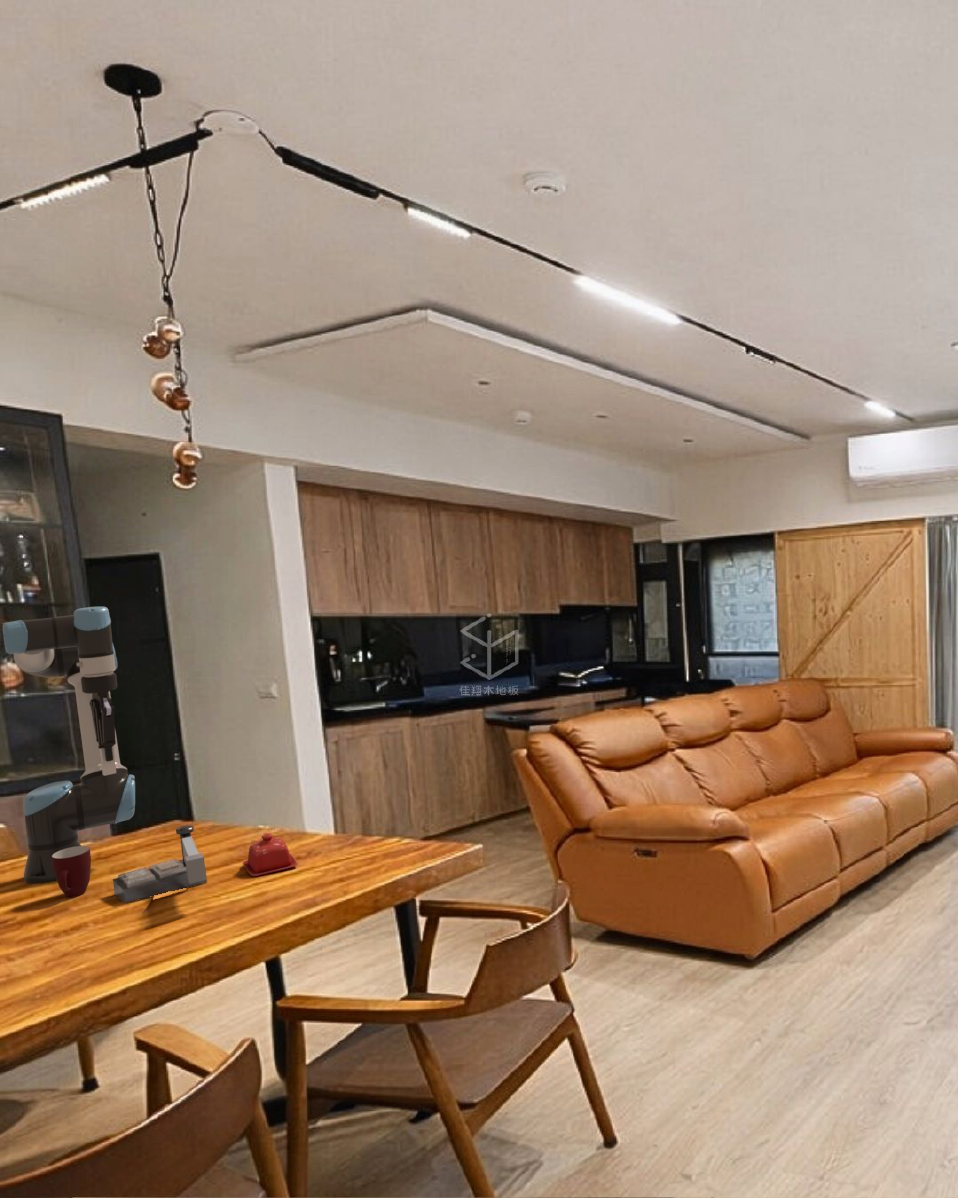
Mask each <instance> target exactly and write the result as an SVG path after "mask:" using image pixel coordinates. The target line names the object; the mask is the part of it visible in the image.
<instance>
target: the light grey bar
mask: <svg viewBox="0 0 958 1198" xmlns="http://www.w3.org/2000/svg"><path fill="white" fill-rule="evenodd" d="M182 846H183V855H184V861H185V864H186V870H187V879H188V882H189V884H190V883H195V882H199V881H203V880H206V877H207V871H205V868H206V864H205V863H206V862H205V856H204V854H203V853H202V852H201V853H199V850H198V848H197V846H196V843H195V841H194V839H193V837H192V835H191V837H186V838H182Z"/></svg>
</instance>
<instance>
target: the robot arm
mask: <svg viewBox="0 0 958 1198" xmlns="http://www.w3.org/2000/svg"><path fill="white" fill-rule="evenodd" d="M109 611H110V610H109V609H108V607H106V606H88V607H81V608H77V609H75V610H74V612H73V615H72V614H71V615H63V616H62V615H61V616H60V615H59V616H52V617H45V618H34V619H24V620H23V619H22V620H21V619H18V620H14V621H9V622H8V621H7V622H5V623H4V624H3V625H2V635H3V643H4V649H5V650H4V651H5V653H6V654H8V655H13V660H14V662H15V665H16V666H17V668H18V669H20V670H21V672H24V673H25V674H29V675H31V676H36V677H39V678H40V677H41V678H60V677H67V682H68V684H70V685H71V686H73V687H74V693H75V696H76V698H75V699H76V706H77V714H78V720H79V721H78V722H79V723H78V724H79V729H80V735H81V736H80V737H81V744H82V751H83V761H84V768H85V771H84V772H83V774H82V775H81V776H80V784H77V785H75V784H74V785H73V783H72V781H70V780H62V781H55V782H51V783H47V784H45V785H43V786H40V787H37V788H34V789H33V790H31V791H30V792H28V793H27V794H26V795H25V796H24V798H23V801H22V802H23V803H22V804H23V812H22V813H23V817H24V820H25V830H26V840H27V841H26V842H27V847H28V848H27V849H28V854H27V859H26V862H25V867H24V872H23V878H24V879H23V880H24V883H26V884H33V885H35V884H36V885H37V884H38V885H39V884H47V883H54V882H57V879H56V876H55V872H54V869H53V864H52V855H53V854H54V853H56V852H58V851H60V850H63V849H66V848H70V847H76V846H82V845H81V842H80V841H79V834H78V832H79V831H83V830H88V829H93V828H97V827H103V826H106V825H111V824H115V825H117V823H120V822H124V821H129V820H130V819H132V817H134V815H135V809H136V807H135V806H136V781H135V779H136V778H135V775H134V774H129V771H128V768H127V767H126V766H124V765H122V764H121V759H120V753H119V746H118V739H117V732H116V727H115V726H116V725H115V710H116V707H115V705H113V704H114V703H113V698H112V697H111V691H114V690H116V689H117V688H118V679H117V674H116V673H115V672H114V671H116V670H118V659H117V655H116V649H115V647H114V646H115V645H114V643H113V635H112V634H113V633H112V625H111V624H112V620H111V617H110V612H109Z"/></svg>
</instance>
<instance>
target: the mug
mask: <svg viewBox="0 0 958 1198" xmlns="http://www.w3.org/2000/svg"><path fill="white" fill-rule="evenodd" d="M52 864H53V869H54V872H55V876H56V879H57V881H56V882H57V884H58V887H59V889H60V890H61V891H62V893H63V894H64V895H65V897H67V898H75V897H79V896H82V895H84V894H85V893H86V891H87V888H88V887H89V884H90V878H91V867H92V866H91V865H92V855H91V850H90V847H89V846H85V845H81V846H76V847H70V848H66V849H63V850H60V851H58V852H56V853H54V854H53V855H52Z"/></svg>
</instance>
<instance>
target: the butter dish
mask: <svg viewBox="0 0 958 1198" xmlns="http://www.w3.org/2000/svg"><path fill="white" fill-rule="evenodd" d="M298 865H299V863H298V861H297V860H296V858H295V857H294V856H293V855H292V854H291V853H290V851H289V848H288V845H287V844H286V842H285V841H284V840H283V839H282V838H279V837H273V834H272V833H269V832H267V833H264V834H262V835H261V839H260V840H258V841H254V842H252V843H251V844H250V845H249V849H248V857H247V860H244V861H242V866H243V867H244V868H245V871H247V873H248V874H249V876H251V877H259V876H263V875H267V874H272V873H276V872H280V871H283V870H287V869H290V868H294V867H297V866H298Z"/></svg>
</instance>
